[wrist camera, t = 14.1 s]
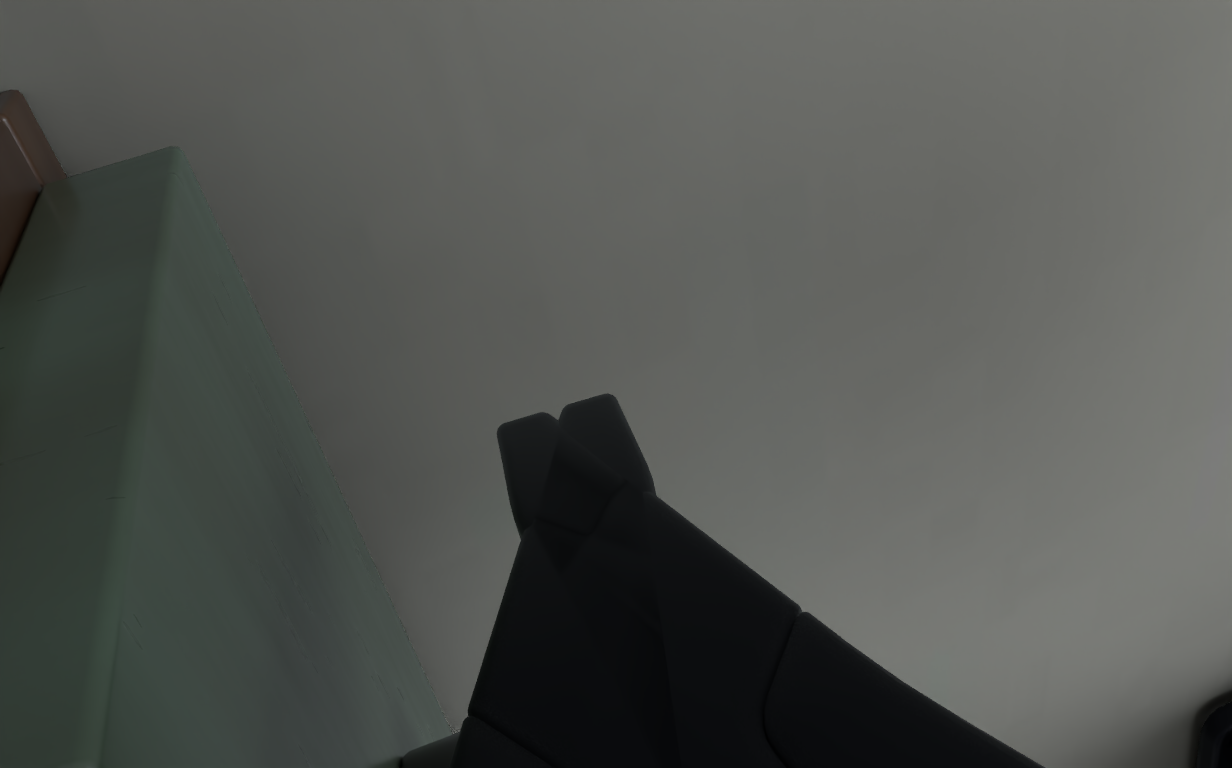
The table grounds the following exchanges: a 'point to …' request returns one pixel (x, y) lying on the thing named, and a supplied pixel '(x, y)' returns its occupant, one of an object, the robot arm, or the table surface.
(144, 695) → the drawer
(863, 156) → the table surface
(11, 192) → the cabinet
